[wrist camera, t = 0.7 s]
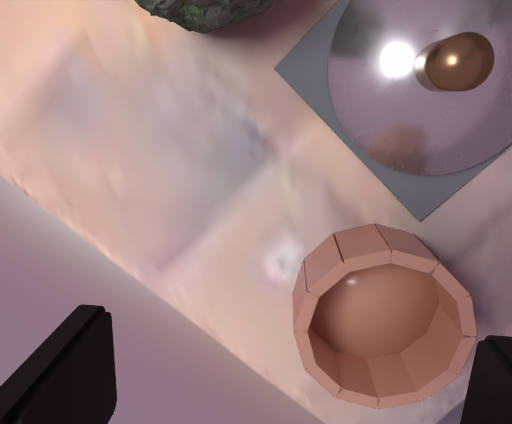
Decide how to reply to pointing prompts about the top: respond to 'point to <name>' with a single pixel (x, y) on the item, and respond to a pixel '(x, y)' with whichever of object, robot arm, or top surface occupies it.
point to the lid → (424, 81)
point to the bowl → (380, 318)
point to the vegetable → (204, 12)
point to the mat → (317, 97)
